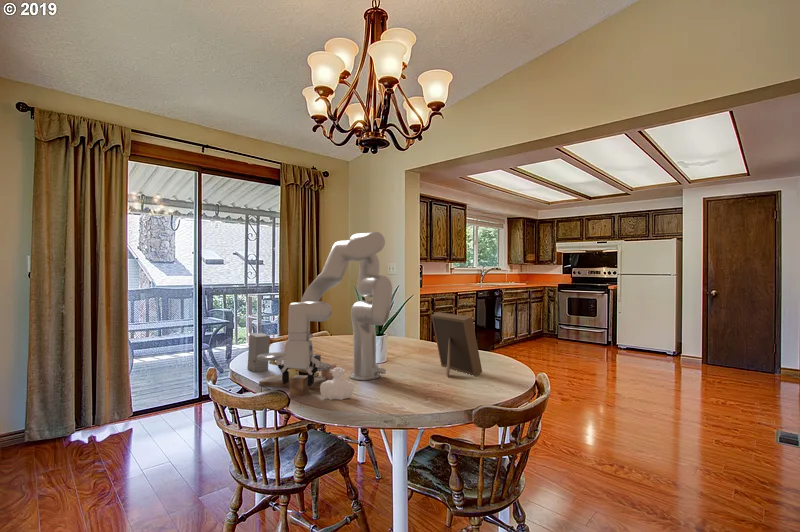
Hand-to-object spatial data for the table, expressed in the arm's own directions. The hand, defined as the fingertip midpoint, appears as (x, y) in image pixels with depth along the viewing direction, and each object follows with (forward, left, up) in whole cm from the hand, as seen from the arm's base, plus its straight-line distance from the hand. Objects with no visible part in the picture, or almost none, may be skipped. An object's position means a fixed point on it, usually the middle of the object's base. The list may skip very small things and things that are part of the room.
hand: (297, 384), depth 145 cm
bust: (-15, 0, -4) cm, 16 cm away
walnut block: (0, -1, -4) cm, 4 cm away
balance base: (+8, -12, -4) cm, 14 cm away
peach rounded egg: (-3, -21, -4) cm, 21 cm away
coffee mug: (+12, -28, -4) cm, 30 cm away
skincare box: (+34, -29, -4) cm, 44 cm away
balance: (+8, -12, -2) cm, 14 cm away
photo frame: (-51, -43, -4) cm, 67 cm away
